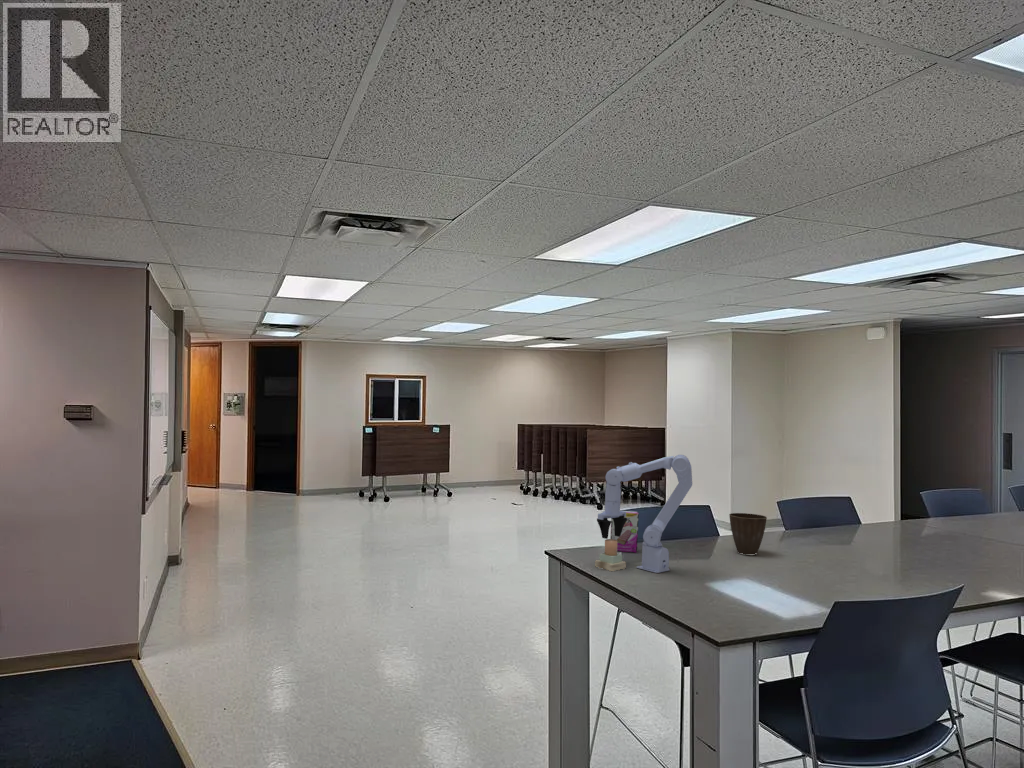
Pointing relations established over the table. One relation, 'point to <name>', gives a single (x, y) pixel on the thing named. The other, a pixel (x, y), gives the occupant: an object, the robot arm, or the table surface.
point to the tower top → (610, 558)
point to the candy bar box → (627, 533)
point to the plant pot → (747, 531)
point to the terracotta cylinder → (610, 547)
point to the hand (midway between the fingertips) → (611, 537)
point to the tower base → (610, 565)
